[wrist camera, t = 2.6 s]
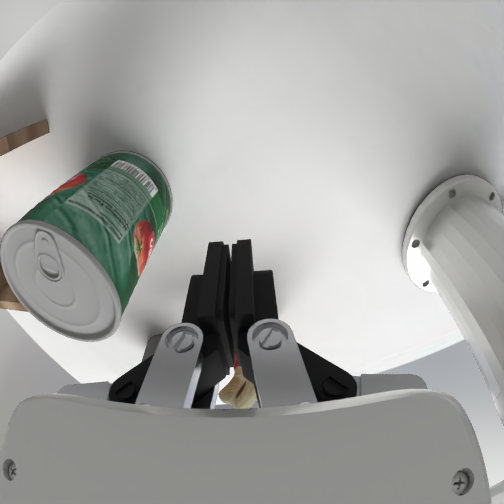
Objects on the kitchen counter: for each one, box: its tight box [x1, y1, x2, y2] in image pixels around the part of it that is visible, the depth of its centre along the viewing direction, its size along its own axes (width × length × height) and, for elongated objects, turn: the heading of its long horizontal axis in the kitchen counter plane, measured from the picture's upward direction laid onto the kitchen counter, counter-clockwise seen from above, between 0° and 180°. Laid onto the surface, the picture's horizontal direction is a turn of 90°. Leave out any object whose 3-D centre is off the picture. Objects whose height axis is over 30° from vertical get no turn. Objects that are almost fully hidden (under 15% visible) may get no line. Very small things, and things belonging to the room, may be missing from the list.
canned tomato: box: [0, 151, 172, 342], centre depth 16 cm, size 8×8×11 cm
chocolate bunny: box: [219, 351, 257, 409], centre depth 24 cm, size 6×8×10 cm
